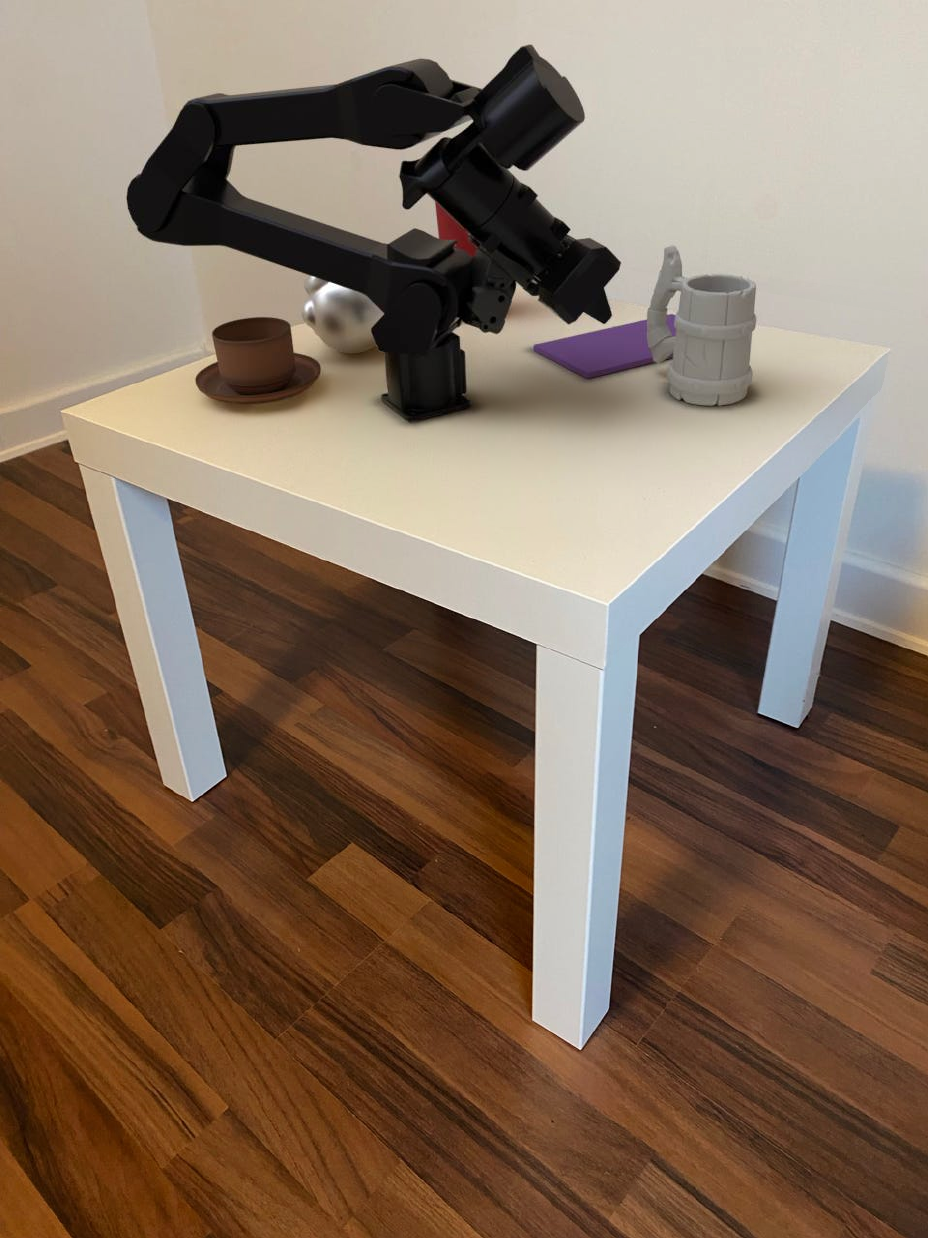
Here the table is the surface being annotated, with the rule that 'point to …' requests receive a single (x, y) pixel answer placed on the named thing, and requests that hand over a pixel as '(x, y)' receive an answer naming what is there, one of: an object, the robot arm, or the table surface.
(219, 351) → the cup and saucer
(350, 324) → the silver lumpy ball
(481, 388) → the table surface
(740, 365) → the mug
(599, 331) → the purple rectangular board
